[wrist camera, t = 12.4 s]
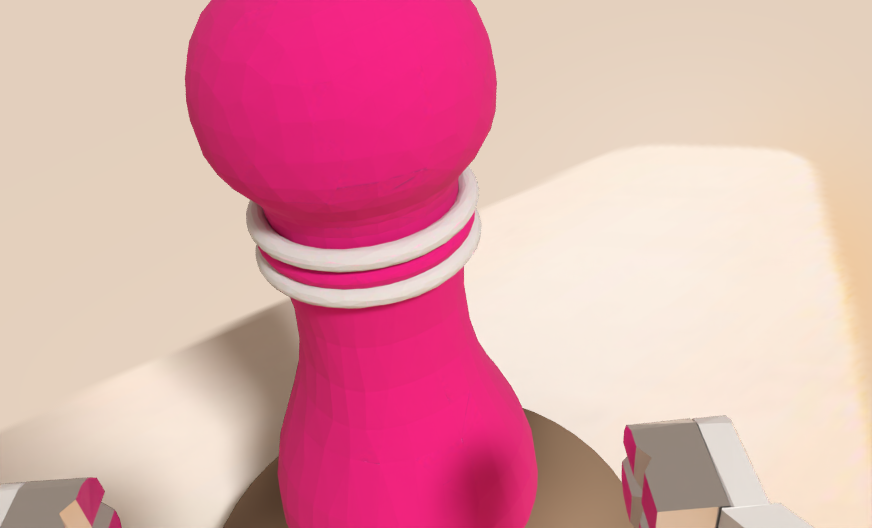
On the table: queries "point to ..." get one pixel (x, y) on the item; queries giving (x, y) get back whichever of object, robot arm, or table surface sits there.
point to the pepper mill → (369, 250)
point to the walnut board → (555, 498)
